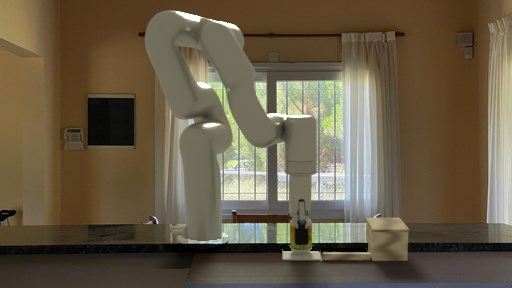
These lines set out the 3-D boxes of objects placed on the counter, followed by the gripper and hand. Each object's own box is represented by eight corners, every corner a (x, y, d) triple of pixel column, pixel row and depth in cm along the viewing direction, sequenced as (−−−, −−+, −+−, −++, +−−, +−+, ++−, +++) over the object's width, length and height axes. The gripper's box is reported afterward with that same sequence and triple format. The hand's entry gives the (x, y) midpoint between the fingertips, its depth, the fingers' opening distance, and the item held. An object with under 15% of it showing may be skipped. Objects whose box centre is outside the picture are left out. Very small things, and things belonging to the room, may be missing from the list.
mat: (282, 260, 114) (282, 259, 114) (282, 246, 123) (282, 245, 123) (321, 260, 114) (321, 259, 114) (318, 246, 122) (318, 245, 122)
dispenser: (319, 261, 113) (319, 229, 112) (315, 246, 123) (315, 217, 122) (408, 261, 112) (409, 229, 111) (398, 246, 122) (399, 217, 121)
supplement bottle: (302, 243, 122) (302, 206, 120) (316, 250, 117) (316, 211, 116) (285, 248, 119) (285, 210, 117) (299, 254, 114) (299, 215, 113)
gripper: (284, 160, 124) (285, 229, 126) (285, 174, 107) (286, 252, 109) (313, 160, 124) (313, 229, 126) (319, 174, 107) (319, 252, 109)
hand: (300, 239), depth 118 cm, fingers closed on supplement bottle, 5 cm apart
